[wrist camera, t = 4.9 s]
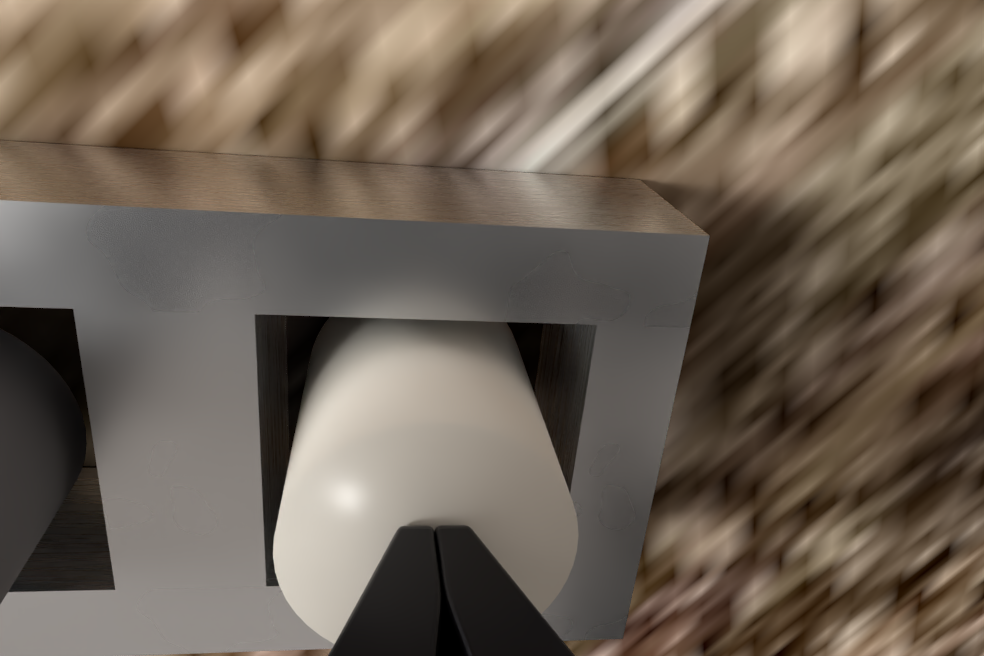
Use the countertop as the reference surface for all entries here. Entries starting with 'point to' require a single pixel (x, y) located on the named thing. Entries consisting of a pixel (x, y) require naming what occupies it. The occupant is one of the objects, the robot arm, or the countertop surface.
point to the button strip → (263, 364)
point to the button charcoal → (33, 451)
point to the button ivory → (417, 461)
